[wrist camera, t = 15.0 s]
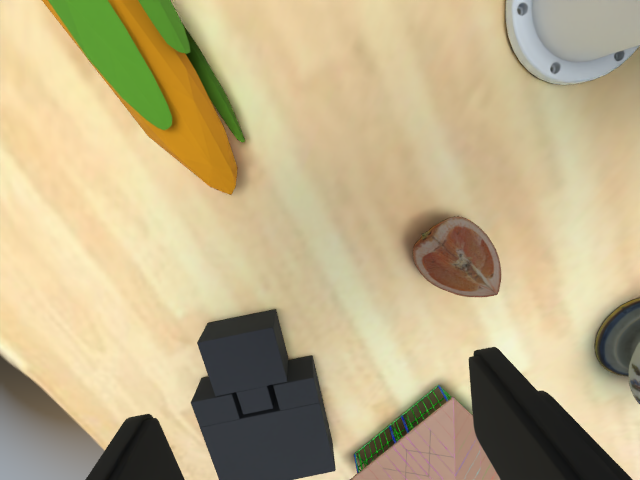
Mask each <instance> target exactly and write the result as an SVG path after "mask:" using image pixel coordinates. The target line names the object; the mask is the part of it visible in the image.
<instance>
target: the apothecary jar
mask: <svg viewBox="0 0 640 480" xmlns="http://www.w3.org/2000/svg"><path fill="white" fill-rule="evenodd" d="M595 352H596V356H597V358H598V360H599V362H600V364H601V365H602V366H603V367H604V368H605V369H607V370H608V371H610V372H612V373H614V374H618V375H623V376H629V384H630V388H631V391H632V394H633V396H634V397H635V399H636V400H637V402H638V403H639V404H640V298H638V299H634V300H631V301H629V302H627V303H625V304H623V305H622V306H620V307H619V308H617V309H616V310H615V311H614V312H612V313H611V314H610V315H609V316H608V318H607V319H606V320H605V321H604V323H603V324H602V326H601V327H600V329H599V332H598V334H597V337H596V343H595Z"/></svg>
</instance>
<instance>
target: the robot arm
mask: <svg viewBox="0 0 640 480" xmlns="http://www.w3.org/2000/svg"><path fill="white" fill-rule="evenodd" d="M506 25H507V31H508V37H509V40H510V42H511V45H512V48H513V51H514V52H515V54H516V56H517V57H518V59H519V61H520V62H521V63H522V64H523V66H524V67H525V68H526V69H527V70H528V71H529V72H530V73H532V74H533V75H535V76H536V77H538V78H539V79H541V80H544V81H547V82H549V83H553V84H561V85H570V84H579V83H582V82H586V81H591V80H594V79H596V78H599V77H601V76H604V75H606V74H608V73H609V72H611V71H612V70H614V69H616V68H617V67H619V66H620V65H621V64H622V63H623V62H625V61H626V60H627V59H628V58H629V57H630V56H631V55H632V54H633V53H634V52H635V51H636V49H637V48H638V47H639V46H640V0H506ZM469 370H470V383H471V397H472V410H473V423H474V430H475V434H476V437H477V439H478V441H479V443H480V445H481V447H482V448H483V450H484V452H485V454H486V455H487V457H488V459H489V460H490V462H491V464H492V466H493V467H494V469H495V471H496V473H497V474H498V476H499V478H500V480H632V479H631V478H630V476H629V475H628V474H627V473H626V472H625V471H624V470H623V469H622V468H621V467H620V466H619V465H618V464H617V463H616V462H615V461H614V460H613V459H612V458H611V457H610V456H609V455H608V454H607V453H606V452H605V451H604V450H603V449H602V448H601V447H600V446H599V445H598V444H597V443H596V442H595V440H594V439H593V438H592V437H591V436H590V435H589V434H588V433H587V432H586V431H585V430H584V429H583V428H582V427H581V426H580V425H579V424H578V423H577V422H576V421H575V420H574V419H573V418H572V417H571V416H570V415H569V414H568V413H567V412H566V411H565V410H564V409H563V408H562V407H561V405H560V404H559V403H558V402H557V401H556V400H555V399H554V398H553V397H552V396H550V395H549V394H548V393H546V392H544V391H537V390H536V389H535V388H534V387H533V386H532V385H531V384H530V382H529V381H528V380H527V379H526V378H525V377H524V376H523V375H522V374H521V373H520V372H519V371H518V370H517V369H516V367H515V366H514V365H513V364H512V363H511V362H510V361H509V360H508V359H507V358H506V357H505V356H504V355H503V354H502V353H501V351H500V350H499V349H497V348H496V347H491V348H486V349H481V350H476V351H474V356H473V357H469ZM86 480H184V477H183V475H182V473H181V471H180V468H179V466H178V464H177V462H176V459H175V457H174V455H173V453H172V450H171V448H170V446H169V444H168V441H167V439H166V437H165V435H164V432H163V430H162V428H161V426H160V423H159V421H158V420H157V419H156V418H153V417H152V415H150V414H145V415H140V416H135V417H130V418H128V419H126V420H125V422H124V423H123V424H122V426H121V427H120V429H119V430H118V432H117V433H116V435H115V436H114V438H113V439H112V441H111V442H110V444H109V445H108V447H107V448H106V450H105V451H104V453H103V455H102V456H101V457H100V459H99V460H98V462H97V463H96V465H95V466H94V468H93V469H92V471H91V472H90V474H89V475H88V477H87V478H86Z"/></svg>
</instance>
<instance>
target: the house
mask: <svg viewBox="0 0 640 480" xmlns="http://www.w3.org/2000/svg"><path fill="white" fill-rule="evenodd" d="M437 387H439V389H440V391H441V393H442V394H443V396H444V398H445V399H446V401H447V402H446V403H445V404H443V405H442V406H441V407H440V408H438V409H437V410H435V408H434V406H435V405H436V404H437V403H439V404H440V401H442V400H443V399H444V398H442V399H441V400H440V401H439V400H438V399H437V400H438V402H437V403H436V404H434V405H433V404H432V402H431V400H430V399H429V400H430V402H431V404H432V406H433V407H431V408H430V409H429V410H431V409H432V408H434V410H435V412H433V413H432V414H431V415H430V414H429V412H428V411H429V410H427V408H426V406H425V404H424V402H423V399H424V398H425V397H426V396H428V395H429V394H430V393H431V392H432V391H433V393H434V390H435V389H436V388H437ZM432 391H430V392H429V393H428V394H427V395H426V396H424V397H423V398H422V399H421V400H422V402H423V404H424V406H425V408H426V410H427V411H426V412H428V414H429V416H428V417H427V418H426V419H425V420H424V418H423V415H424V414H425V413H426V412H425V413H423V414H421V416H420V417H419V418H421V417H422V418H423V421H422V422H421V423H420V424H418V421H417V420H418V419H419V418H418V419H416V417H415V415H414V417H415V419H416V420H415V421H417V424H418V425H417V426H416V427H415V426H414V425H413V423H414V422H415V421H413V422H412V423H411V422H410V420H409V418H408V420H409V421H408V420H407V419H406V418H405V417H403V415H404V414H405V413H406V415H407V412H408V411H409V410H410V409H411V410H412V408H413V407H414V406H415V405H417V404H418V403H419V402H420V401H421V400H419V401H418V402H417V403H416V404H415V405H413V406H412V407H411V408H410V409H408V410H407V411H406V412H405V413H404V414H402V415H401V416H400V417H399V418H402V421H403V424H404V426H405V429H406V431H407V434H406V435H405V436H402V435H401V432H403V431H404V430H405V429H403V430H402V431H401V432H400V429H399V427H398V429H399V432H400V433H399V432H398V431H396V429H394V428H395V426H394V422H396V423H397V420H398V419H399V418H397V419H396V420H395V421H394V422H393V423H391V424H390V425H389V426H388V427H389V429H390V432H391V435H392V438H393V439H392V440H393V441H394V445H392V446H391V447H389V444H388V443H390V442H391V441H392V440H390V441H389V442H388V440H387V437H386V434H385V430H386V429H387V428H388V427H386V428H385V429H384V430H383V431H384V434H385V437H386V440H387V443H386V444H385V445H387V444H388V447H389V449H387V450H386V451H385V452H384V449H383V447H384V446H385V445H384V446H382V442H381V439H380V442H381V446H382V448H381V449H383V453H382V454H381V455H380V456H379V455H378V452H379V451H380V450H381V449H379V450H378V451H377V447H376V443H375V440H374V439H375V438H376V437H377V436H379V438H380V434H381V433H382V432H383V431H382V432H380V433H379V434H378V435H377V436H375V437H374V438H373V439H372V440H374V443H375V447H376V452H375V453H377V455H378V457H377V458H376V459H375V460H374V461H373V457H372V456H373V455H374V454H375V453H374V454H373V455H372V452H371V448H370V444H369V443H370V442H371V441H372V440H371V441H369V442H368V443H367V444H369V448H370V452H371V457H372V462H371V463H370V464H368V462H367V460H369V459H370V458H371V457H369V458H368V459H367V457H366V453H365V457H366V460H365V461H364V460H363V459H361V457H360V452H359V451H360V450H361V449H363V448H364V447H365V446H366V445H367V444H366V445H364V446H363V447H362V448H361V449H360V450H358V451H357V452H356V453H358V452H359V456H357V455H356V453H355V454H354V457H355V463H356V468H357V474H356V475H355V476H354V477H353V478H351V479H350V480H500V478H499V476H498V474H497V473H496V471H495V469H494V467H493V466H492V464H491V462H490V460H489V459H488V457H487V455H486V454H485V452H484V450H483V448H482V447H481V445H480V443H479V441H478V439H477V437H476V434H475V430H474V423H473V415H472V414H471V413H470V412H468V411H467V410H466V409H465V408H464V407H463V406H462V405H461V404H460V403H459V402H458V401H457V400H455V399H454V398H453V397H451V396H450V395H449V394H448V393H447V392H446V391H445V390H444V389H443V388H442V387H440V386H439V385H438V386H436V387H435V388H434V389H433V390H432ZM446 394H447V395H446ZM434 395H435V393H434ZM435 396H436V395H435ZM447 396H448V397H449V396H450V397H451V398H450V397H449V398H448V397H447ZM428 398H429V397H428ZM436 398H437V397H436ZM440 405H441V404H440ZM417 407H418V405H417ZM418 409H419V407H418ZM419 411H420V409H419ZM412 412H413V410H412ZM420 413H421V411H420ZM413 414H414V412H413ZM407 417H408V415H407ZM404 419H405V420H406V421H407V424H408V427H409V429H410V430H409V429H408V427H407V425H406V423H405V420H404ZM408 422H409V423H410V425H409V423H408ZM392 424H393V426H394V428H393V427H392V426H391V425H392ZM397 426H398V424H397ZM410 426H411V427H412V430H411V428H410ZM413 427H414V428H413ZM392 429H393V431H392ZM394 430H395V431H396V434H398V435H396V434H395V431H394ZM409 431H410V432H409ZM393 432H394V434H393ZM394 435H395V437H394ZM399 435H401V437H402V438H401V439H400V436H399ZM397 437H398V440H399V441H398V440H397ZM395 438H396V439H395ZM396 441H397V442H396ZM364 452H365V448H364ZM356 456H357V457H358V458H359V460H360V466H361V470H360V469H359V467H360V466H358V464H357V458H356ZM361 460H362V461H363V463H364V465H365V463H366V462H367V463H366V464H367V466H366V465H365V468H364V469H363V467H362V464H363V463H362V462H361ZM359 470H360V472H359Z"/></svg>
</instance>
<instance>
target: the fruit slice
mask: <svg viewBox="0 0 640 480" xmlns="http://www.w3.org/2000/svg"><path fill="white" fill-rule="evenodd" d="M413 259H414V262H415V265H416V267H417V268H418V270H419V271H420V273H421V274H422V275H423V276H424V277H425V278H426V279H427V280H428V281H429V282H431V283H432V284H433V285H435V286H437V287H439V288H441V289H443V290H446V291H448V292H451V293H454V294H457V295H461V296H467V297H488V296H494V295H497V294H498V292H499V287H500V282H501V267H500V261H499V257H498V254H497V252H496V249H495V247H494V245H493V244H492V242H491V240H490V239H489V237H488V236H487V235H486V234H485V233H484V231H483V230H482V229H481V228H479V227H478V226H477V225H476V224H474V223H473V222H471V221H470V220H468V219H466V218H463V217H459V216H458V217H451V218H448V219H446V220H444V221H442V222H440V223H438V224H437V225H435V226H434V227H432V228H431V229H430V230H429V231H427V232H426V233H422V237H421V238H420V239H419V240H418V241H417V242H416V244H415V245H414V249H413Z"/></svg>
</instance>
